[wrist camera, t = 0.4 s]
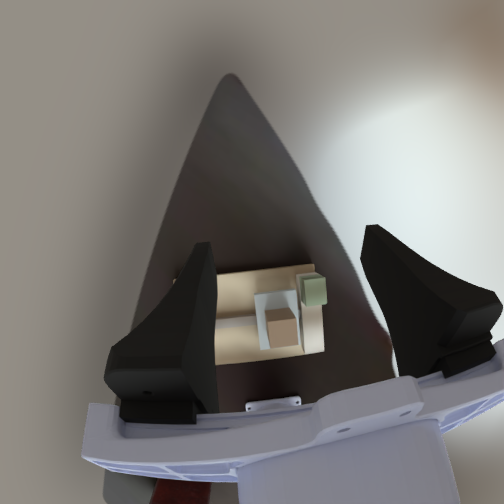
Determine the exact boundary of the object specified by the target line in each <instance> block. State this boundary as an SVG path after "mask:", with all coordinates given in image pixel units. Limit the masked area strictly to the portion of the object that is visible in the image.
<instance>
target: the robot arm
mask: <svg viewBox="0 0 504 504" xmlns="http://www.w3.org/2000/svg"><path fill="white" fill-rule="evenodd" d="M360 260H361V263H362V266H363V270H364V272H365V275H366V278H367V280H368V282H369V284H370V287H371V289H372V291H373V293H374V295H375V297H376V299H377V301H378V304H379V306H380V308H381V310H382V312H383V315H384V317H385V320H386V323H387V326H388V330H389V333H390V336H391V340H392V344H393V348H394V352H395V357H396V361H397V367H398V372H399V377H397V378H393V379H389V380H386V381H382V382H378V383H374V384H369V385H365V386H361V387H356V388H352V389H347V390H342V391H339V392H335V393H332V394H329V395H327V396H325V397H323V398H321V399H319V400H318V401H317V402H316V403H311V404H305V405H301V398H300V397H299V396H294V397H287V398H280V399H272V400H264V401H255V402H247V403H246V412H235V413H219V405H218V394H217V381H216V365H215V325H216V312H217V299H218V287H217V273H216V268H215V264H214V259H213V254H212V249H211V244H210V242H202V243H196V244H195V246H194V248H193V250H192V252H191V254H190V256H189V258H188V260H187V262H186V263H185V265H184V267H183V269H182V270H181V272H180V274H179V276H178V277H177V279H176V280H175V282H174V283H173V285H172V286H171V288H170V289H169V291H168V292H167V294H166V295H165V296H164V298H163V299H162V300H161V302H160V303H159V304H158V305H157V306H156V308H155V309H154V310H153V311H152V312H151V313H150V314H149V315H148V316H147V318H146V319H145V320H144V321H143V322H141V323H140V324H139V325H138V326H137V327H136V328H135V329H134V330H133V331H132V332H130V333H129V334H128V335H127V336H125V337H124V338H123V339H122V340H120V341H119V342H118V343H116V344H115V345H114V346H112V347H111V350H110V353H109V356H108V360H107V364H106V369H105V374H104V381H105V383H106V384H107V385H108V387H109V388H110V389H111V390H112V391H113V392H114V393H115V394H116V395H117V396H118V397H119V398H120V399H121V407H119V406H116V405H112V404H102V403H89V408H88V413H87V418H86V425H85V431H84V438H83V445H82V453H81V456H82V458H84V459H86V460H88V461H90V462H92V463H94V464H97V465H99V466H101V467H103V468H105V469H108V470H110V471H114V472H120V473H126V474H133V475H141V476H148V477H156V478H165V479H175V480H188V481H205V482H238V494H239V504H461V503H460V499H459V494H458V490H457V487H456V482H455V478H454V474H453V470H452V467H451V463H450V459H449V456H448V453H447V449H446V446H445V443H444V440H443V436H442V434H443V433H445V432H447V431H450V430H452V429H453V428H456V427H458V426H459V425H461V424H463V423H465V422H467V421H469V420H471V419H473V418H474V417H476V416H478V415H480V414H482V413H483V412H485V411H487V410H489V409H491V408H492V407H494V406H496V405H497V404H499V403H501V402H503V401H504V339H502V340H500V341H498V342H496V343H495V344H494V345H492V343H491V341H490V340H491V339H492V335H491V332H490V330H491V329H492V327H493V326H494V325H495V323H496V322H497V320H498V318H499V317H500V315H501V313H502V310H503V305H502V303H501V302H500V300H499V299H498V297H497V295H496V294H495V292H493V291H490V290H488V289H484V288H481V287H478V286H476V285H473V284H471V283H468V282H466V281H464V280H461V279H459V278H457V277H455V276H453V275H451V274H449V273H447V272H446V271H444V270H442V269H440V268H439V267H437V266H435V265H434V264H432V263H430V262H429V261H427V260H426V259H424V258H423V257H421V256H420V255H419V254H417V253H416V252H414V251H413V250H412V249H410V248H409V247H408V246H406V245H405V244H404V243H402V242H401V241H400V240H398V239H397V238H396V237H394V236H393V235H392V234H391V233H389V232H388V231H386V230H385V229H384V228H382V227H381V226H379V225H378V224H376V225H366V229H365V235H364V241H363V246H362V251H361V257H360ZM297 401H299V402H298V403H296V402H297ZM249 407H250V408H251V409H248V408H249Z"/></svg>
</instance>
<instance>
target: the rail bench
mask: <svg viewBox="0 0 504 504" xmlns="http://www.w3.org/2000/svg"><path fill="white" fill-rule="evenodd" d="M175 280H176V279H174V280H173V283H174V282H175ZM217 287H218V299H217V312H216V325H215V365H221V364H232V363H242V362H252V361H261V360H269V359H277V358H284V357H291V356H298V355H305V354H311V353H317V352H323V351H324V337H323V320H322V305H323V304H327V294H326V281H325V277H323V276H321V275H319V274H318V273H316V272H315V269H314V264H312V263H311V264H303V265H295V266H286V267H278V268H269V269H261V270H252V271H243V272H234V273H225V274H217ZM293 288H295V289H296V293H297V305H298V317H299V329H300V342H301V345H296V346H289V347H281V348H274V349H266V350H260V343H259V334H258V325H257V317H256V308H255V299H254V293H260V292H269V291H277V290H285V289H293Z"/></svg>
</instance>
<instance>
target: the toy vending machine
mask: <svg viewBox="0 0 504 504" xmlns="http://www.w3.org/2000/svg"><path fill="white" fill-rule="evenodd" d="M211 484H212V482H205V481H188V480H175V479H165V478H158V479H157V482H156V485H155V488H154V491H153V494H152V497H151V500H150V503H149V504H209V501H210V492H211Z"/></svg>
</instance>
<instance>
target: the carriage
mask: <svg viewBox="0 0 504 504" xmlns="http://www.w3.org/2000/svg"><path fill="white" fill-rule="evenodd" d="M254 299H255V308H256V317H257V325H258V334H259V343H260V350H266V349H274V348H281V347H289V346H296V345H301V342H300V329H299V317H298V305H297V293H296V289H295V288H293V289H285V290H277V291H269V292H260V293H254Z"/></svg>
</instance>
